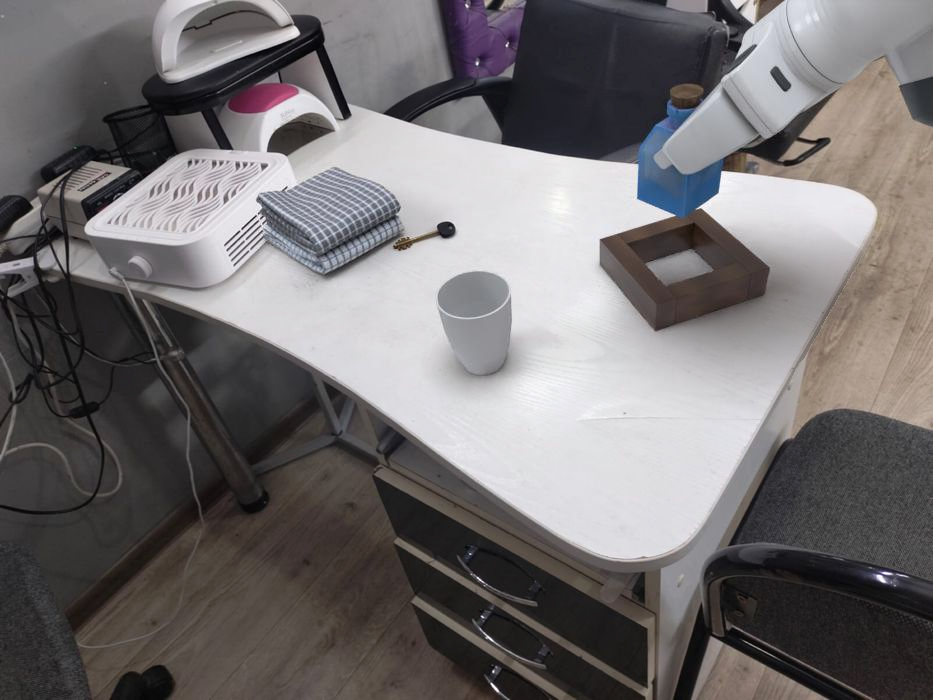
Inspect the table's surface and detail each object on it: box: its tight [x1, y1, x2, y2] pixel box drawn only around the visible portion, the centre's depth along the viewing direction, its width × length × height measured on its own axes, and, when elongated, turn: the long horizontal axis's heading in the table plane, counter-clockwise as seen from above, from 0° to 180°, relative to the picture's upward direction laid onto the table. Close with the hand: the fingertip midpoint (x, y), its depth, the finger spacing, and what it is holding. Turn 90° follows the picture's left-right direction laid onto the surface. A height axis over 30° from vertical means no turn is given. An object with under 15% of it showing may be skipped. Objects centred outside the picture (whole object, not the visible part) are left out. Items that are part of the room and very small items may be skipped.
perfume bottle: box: [636, 83, 724, 218], centre depth 71 cm, size 6×6×12 cm
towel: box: [255, 166, 405, 275], centre depth 100 cm, size 15×18×8 cm
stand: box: [599, 207, 771, 332], centre depth 84 cm, size 14×14×4 cm
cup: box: [435, 269, 513, 376], centre depth 76 cm, size 8×8×10 cm
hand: (676, 142), depth 71 cm, fingers closed on perfume bottle, 7 cm apart
